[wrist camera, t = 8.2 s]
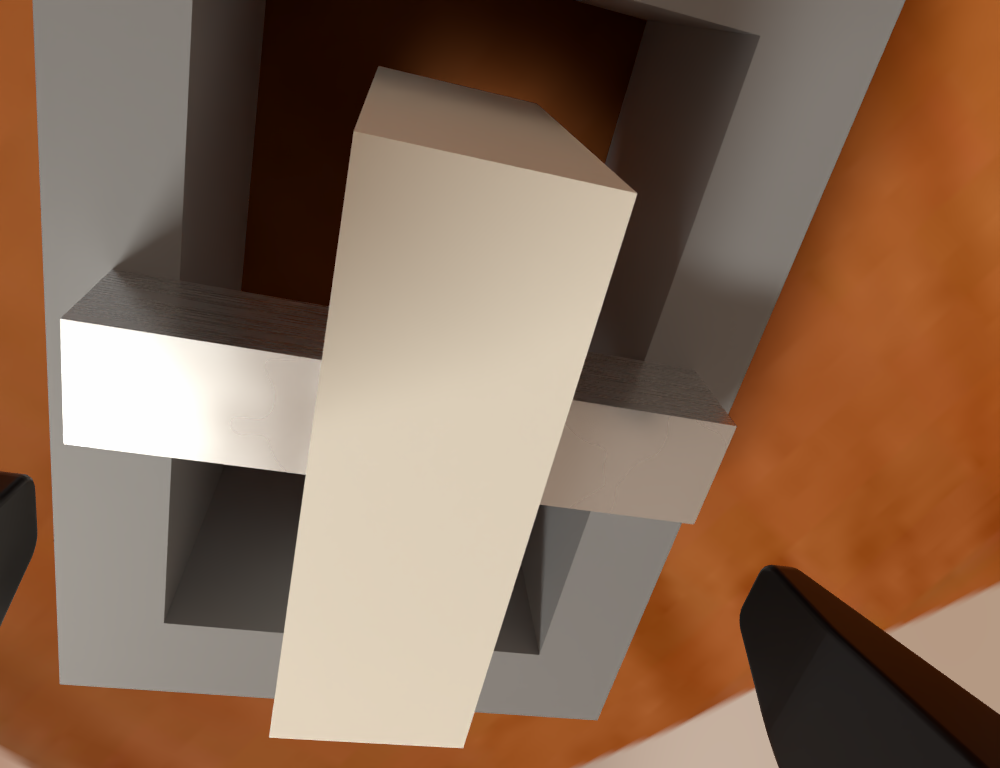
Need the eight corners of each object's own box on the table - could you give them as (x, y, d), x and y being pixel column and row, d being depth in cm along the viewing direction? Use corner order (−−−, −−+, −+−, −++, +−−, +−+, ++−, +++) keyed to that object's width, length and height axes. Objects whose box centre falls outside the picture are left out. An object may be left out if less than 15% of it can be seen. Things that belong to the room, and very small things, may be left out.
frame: (147, 508, 21) (60, 683, 16) (170, -241, 13) (17, -386, 8) (554, 554, 23) (597, 720, 18) (763, -58, 16) (940, -80, 11)
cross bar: (112, 379, 13) (63, 443, 11) (112, 268, 12) (59, 318, 10) (659, 459, 15) (694, 524, 13) (694, 370, 14) (737, 426, 12)
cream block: (318, 472, 17) (269, 737, 11) (378, 65, 13) (353, 131, 7) (444, 488, 18) (463, 748, 12) (537, 103, 14) (637, 193, 8)
